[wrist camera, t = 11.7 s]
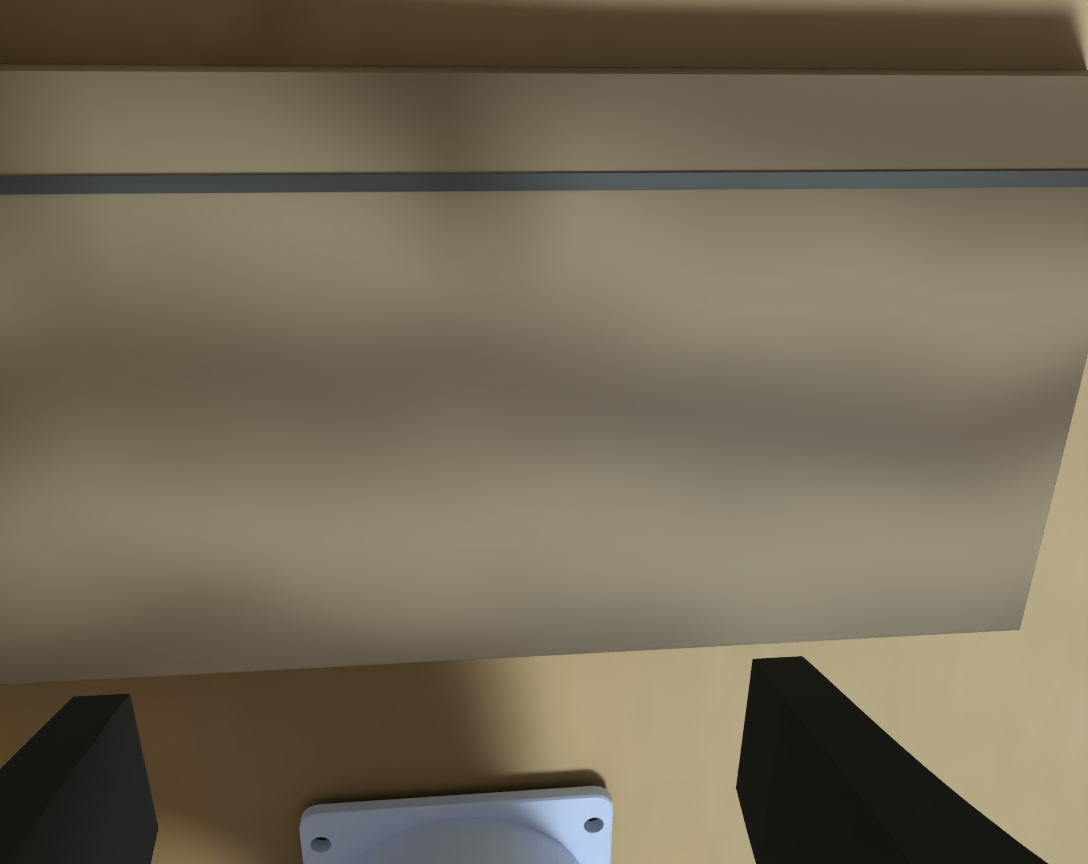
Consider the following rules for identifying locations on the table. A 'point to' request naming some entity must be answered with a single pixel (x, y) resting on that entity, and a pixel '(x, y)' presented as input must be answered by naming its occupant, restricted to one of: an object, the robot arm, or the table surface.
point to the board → (526, 358)
